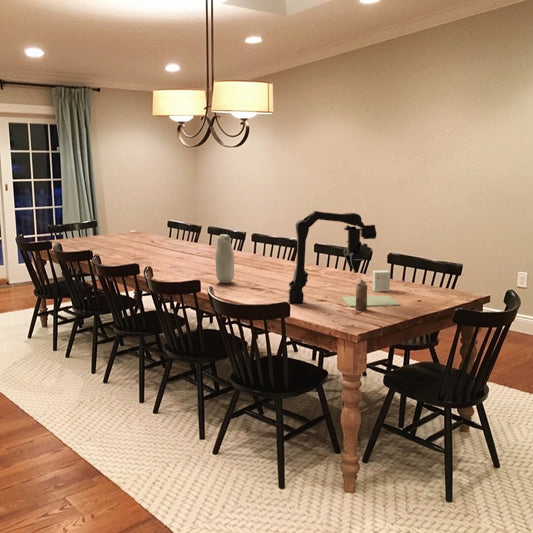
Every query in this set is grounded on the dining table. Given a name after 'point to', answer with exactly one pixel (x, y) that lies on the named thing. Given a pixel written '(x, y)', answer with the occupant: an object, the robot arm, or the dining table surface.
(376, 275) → the small box
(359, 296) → the pepper mill
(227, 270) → the white tall cylinder
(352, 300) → the placemat
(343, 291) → the dining table surface
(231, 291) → the dining table surface
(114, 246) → the dining table surface
